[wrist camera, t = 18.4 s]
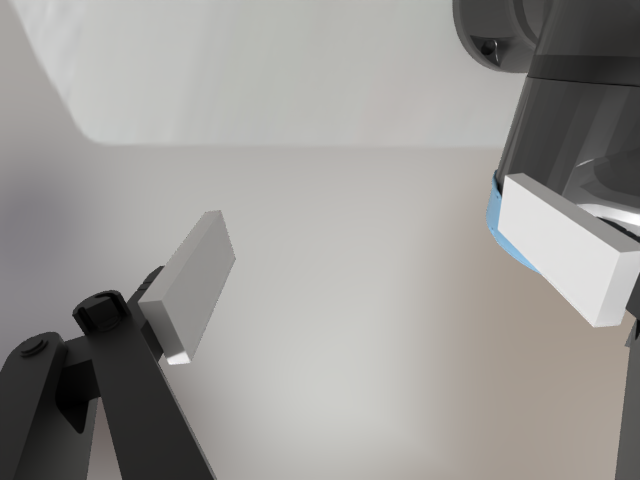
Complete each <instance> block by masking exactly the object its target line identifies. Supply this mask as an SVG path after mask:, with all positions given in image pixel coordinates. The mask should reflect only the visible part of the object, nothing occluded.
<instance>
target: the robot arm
mask: <svg viewBox="0 0 640 480" xmlns="http://www.w3.org/2000/svg"><path fill="white" fill-rule="evenodd" d="M453 17H454V23H455V27H456V31H457V34H458V36H459V39H460V41H461V43H462V45H463V46H464V48H465V49H466V51H467V52H468V53H469V55H470V56H471V57H472V58H473V59H475V60H476V61H477V62H478V63H480V64H481V65H483V66H485V67H487V68H489V69H492V70H495V71H500V72H508V73H528V75H527V77H526V79H525V83H524V86H523V89H522V92H521V95H520V99H519V102H518V105H517V108H516V112H515V115H514V118H513V121H512V125H511V128H510V131H509V134H508V138H507V141H506V144H505V147H504V150H503V154H502V157H501V160H500V163H499V167H498V169H497V170H496V171H495V172H494V175H493V178H492V191H491V195H490V199H489V204H488V207H487V212H486V221H487V225H488V228H489V229H490V231H491V233H492V234H493V236H494V237H495V239H496V241H497V242H498V244H499V245H500V246H501V247H502V248H503V249H504V250H506V252H508V253H509V254H510V255H511V256H513V257H514V258H515V259H516V260H518V261H519V262H521V263H522V264H524V265H525V266H527V267H529V268H530V269H532V270H534V271H536V272H538V273H540V274H541V275H543V276H544V277H545V278H546V279H547V280H548V281H549V282H550V283H551V284H552V285H553V286H554V287H555V288H556V289H557V290H558V291H559V292H560V293H561V294H562V295H563V296H564V297H565V298H566V299H567V300H568V301H569V303H571V305H572V306H573V307H574V308H575V309H576V310H577V311H578V312H579V313H580V314H581V315H582V316H583V317H584V318H585V319H586V320H587V321H588V322H589V323H590V324H591V325H592V326H593V327H603V326H615V325H620V323H621V321H622V318H623V316H624V313H625V311H626V310H628V311H629V312H630V313H631V314H632V315H634V316H635V317H636V321H635V323H634V326H633V328H632V330H631V332H630V335H629V337H628V339H627V341H626V344H625V346H627V347H630V353H629V362H628V371H627V380H626V388H625V396H624V405H623V414H622V423H621V431H620V440H619V448H618V457H617V466H616V474H615V480H640V0H453ZM235 259H236V258H235V255H234V252H233V248H232V245H231V242H230V239H229V235H228V232H227V229H226V225H225V222H224V219H223V216H222V212H221V210H219V211H210V212H205V213H204V215H203V216H202V217H201V218H200V220H199V221H198V223H197V224H196V225H195V227H194V228H193V229H192V230H191V232H190V233H189V235H188V236H187V237H186V239H185V240H184V241H183V243H182V244H181V245H180V247H179V248H178V249H177V251H176V252H175V253H174V255H173V256H172V257H171V259H170V260H169V261H168V263H167V264H166V265H165V266H160V267H158V268H157V269H156V270H154V271H153V272H152V273H150V274H149V275H148V277H147V278H146V279H145V280H144V282H143V284H141V285H140V287H139V288H138V289H137V291H136V292H135V293H134V294H133V296H132V297H131V298H130V299H129V301H128V302H127V303H126V302H125V301H124V299H123V297H122V295H121V293H120V292H118V291H115V290H109V291H103V292H100V293H97V294H95V295H93V296H91V297H89V298H87V299H85V300H84V301H82V302H81V303H80V304H79V305H77V307H76V308H75V309H74V310H73V314H72V316H73V317H74V319H75V320H76V322H77V323H78V325H79V326H80V328H81V329H82V331H83V332H84V334H85V336H81V337H78V338H75V339H72V340H68V341H65V342H64V341H63V339H62V338H61V336H60V335H59V334H58V333H56V332H46V333H43V334H39V335H37V336H34V337H31V338H29V339H27V340H26V341H24V342H22V343H21V344H20V345H19V346H18V347H16V348H15V349H14V350H13V351H12V352H11V354H10V355H9V356H8V358H7V359H6V362H5V364H4V366H3V368H2V370H1V372H0V480H86V479H87V473H88V465H89V458H90V451H91V445H92V437H93V430H94V424H95V417H96V410H97V402H98V397H101V398H102V402H103V405H104V409H105V413H106V417H107V421H108V425H109V429H110V433H111V437H112V440H113V445H114V449H115V452H116V456H117V460H118V464H119V468H120V472H121V476H122V480H217V478H216V476H215V474H214V472H213V470H212V468H211V466H210V464H209V462H208V460H207V458H206V456H205V454H204V452H203V450H202V448H201V446H200V444H199V442H198V440H197V438H196V436H195V434H194V432H193V431H192V428H191V427H190V425H189V423H188V421H187V419H186V417H185V415H184V413H183V411H182V409H181V407H180V405H179V403H178V401H177V399H176V397H175V395H174V393H173V391H172V389H171V387H170V385H169V383H168V381H167V379H166V377H165V375H164V373H163V371H162V369H161V367H160V365H159V364H158V361H159V359H160V358H161V356H162V354H163V353H164V355H165V357H166V359H167V361H168V363H169V364H182V363H191V361H192V358H193V356H194V354H195V352H196V349H197V347H198V345H199V342H200V340H201V338H202V336H203V333H204V331H205V329H206V326H207V324H208V322H209V319H210V317H211V315H212V312H213V310H214V308H215V305H216V303H217V301H218V298H219V296H220V294H221V291H222V289H223V287H224V285H225V282H226V280H227V277H228V275H229V273H230V270H231V268H232V266H233V264H234V261H235Z"/></svg>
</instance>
